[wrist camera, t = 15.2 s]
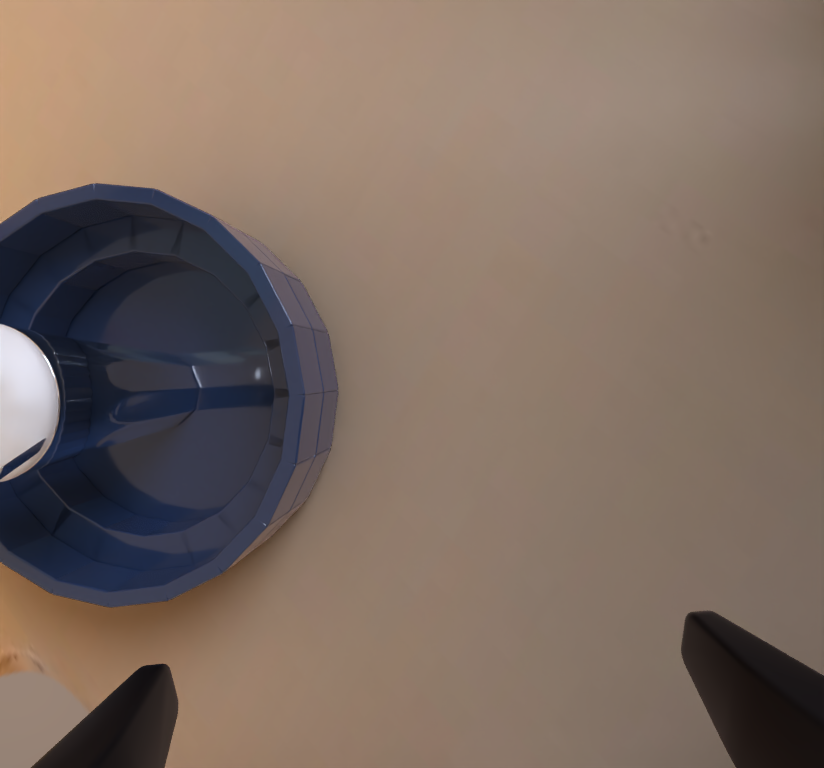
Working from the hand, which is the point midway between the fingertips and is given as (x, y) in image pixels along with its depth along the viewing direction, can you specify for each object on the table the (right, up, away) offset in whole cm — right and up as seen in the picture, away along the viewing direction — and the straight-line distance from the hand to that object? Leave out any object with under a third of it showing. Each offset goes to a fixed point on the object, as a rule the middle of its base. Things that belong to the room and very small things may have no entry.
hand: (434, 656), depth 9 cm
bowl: (-11, +4, +14) cm, 18 cm away
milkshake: (-11, +4, +14) cm, 18 cm away
